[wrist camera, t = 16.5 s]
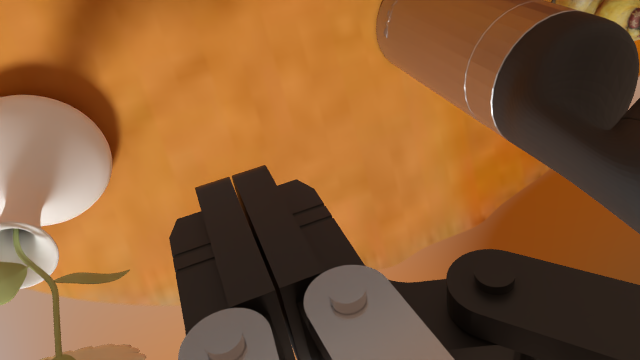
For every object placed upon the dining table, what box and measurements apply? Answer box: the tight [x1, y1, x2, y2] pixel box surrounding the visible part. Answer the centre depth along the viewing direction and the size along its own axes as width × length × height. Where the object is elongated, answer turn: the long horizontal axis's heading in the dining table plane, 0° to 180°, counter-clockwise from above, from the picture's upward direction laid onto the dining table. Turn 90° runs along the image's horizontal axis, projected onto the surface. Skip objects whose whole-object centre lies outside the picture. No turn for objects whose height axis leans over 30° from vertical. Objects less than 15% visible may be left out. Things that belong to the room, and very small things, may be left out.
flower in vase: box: [0, 95, 146, 360], centre depth 32 cm, size 13×11×25 cm
